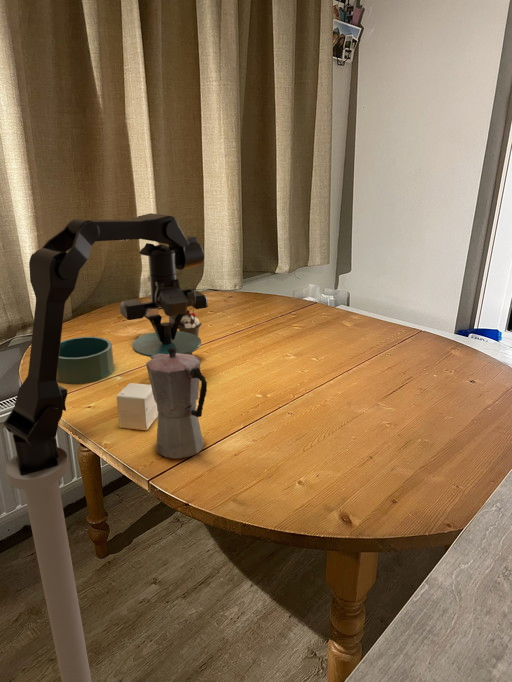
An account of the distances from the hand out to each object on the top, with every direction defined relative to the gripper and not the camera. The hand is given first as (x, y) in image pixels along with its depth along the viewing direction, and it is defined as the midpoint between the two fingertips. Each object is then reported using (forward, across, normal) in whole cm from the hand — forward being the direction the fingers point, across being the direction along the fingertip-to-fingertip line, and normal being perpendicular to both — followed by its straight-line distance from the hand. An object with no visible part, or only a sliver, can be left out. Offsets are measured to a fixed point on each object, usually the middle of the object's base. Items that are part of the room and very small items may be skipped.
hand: (166, 340), depth 114 cm
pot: (+12, -16, +19) cm, 27 cm away
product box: (+12, -12, -12) cm, 21 cm away
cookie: (+12, +8, +28) cm, 32 cm away
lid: (+1, 0, 0) cm, 1 cm away
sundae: (+12, +10, +12) cm, 19 cm away
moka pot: (+12, -8, -26) cm, 29 cm away
